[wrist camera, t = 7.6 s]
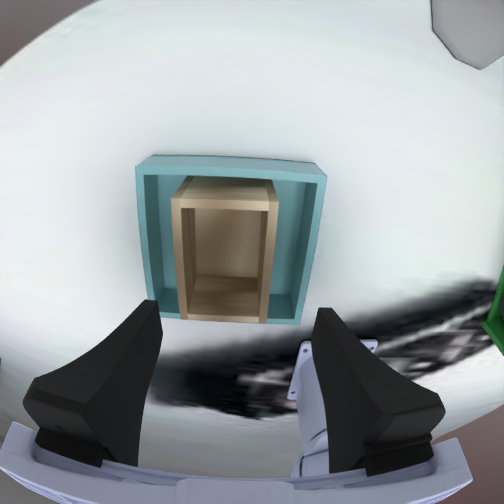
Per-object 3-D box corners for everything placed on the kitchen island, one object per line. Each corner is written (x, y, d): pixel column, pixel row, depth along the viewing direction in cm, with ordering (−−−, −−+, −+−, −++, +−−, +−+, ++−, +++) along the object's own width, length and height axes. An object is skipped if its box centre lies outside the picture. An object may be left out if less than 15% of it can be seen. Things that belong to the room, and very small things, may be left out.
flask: (419, 32, 15) (514, 14, 6) (438, -27, 11) (517, -56, 3) (482, 84, 16) (574, 100, 7) (498, 25, 13) (580, 24, 4)
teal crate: (293, 296, 25) (299, 324, 22) (161, 289, 24) (151, 316, 21) (314, 163, 20) (327, 176, 17) (152, 155, 19) (135, 166, 16)
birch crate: (271, 177, 20) (278, 202, 15) (262, 279, 23) (266, 323, 19) (188, 174, 19) (170, 198, 15) (191, 276, 23) (180, 319, 19)
